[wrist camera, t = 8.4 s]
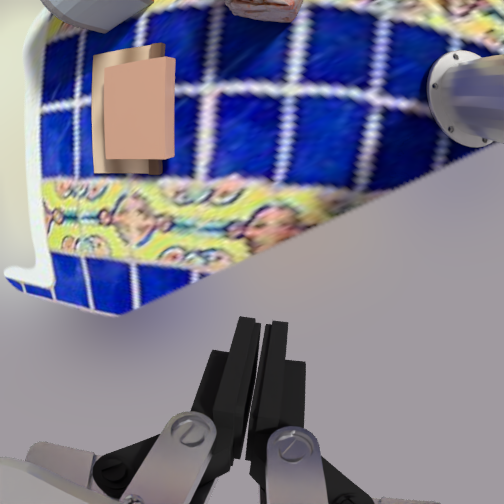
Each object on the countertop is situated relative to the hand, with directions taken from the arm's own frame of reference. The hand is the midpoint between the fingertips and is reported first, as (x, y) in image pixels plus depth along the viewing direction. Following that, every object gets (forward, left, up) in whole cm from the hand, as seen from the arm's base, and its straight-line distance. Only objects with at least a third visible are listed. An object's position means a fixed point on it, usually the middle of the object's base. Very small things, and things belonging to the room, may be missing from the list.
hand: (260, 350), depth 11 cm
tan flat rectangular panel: (+22, -8, -29) cm, 37 cm away
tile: (+14, -8, -26) cm, 30 cm away
